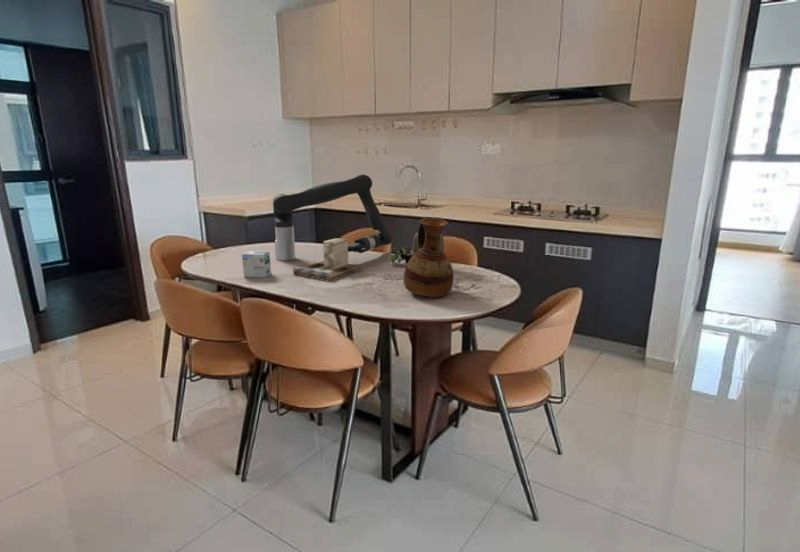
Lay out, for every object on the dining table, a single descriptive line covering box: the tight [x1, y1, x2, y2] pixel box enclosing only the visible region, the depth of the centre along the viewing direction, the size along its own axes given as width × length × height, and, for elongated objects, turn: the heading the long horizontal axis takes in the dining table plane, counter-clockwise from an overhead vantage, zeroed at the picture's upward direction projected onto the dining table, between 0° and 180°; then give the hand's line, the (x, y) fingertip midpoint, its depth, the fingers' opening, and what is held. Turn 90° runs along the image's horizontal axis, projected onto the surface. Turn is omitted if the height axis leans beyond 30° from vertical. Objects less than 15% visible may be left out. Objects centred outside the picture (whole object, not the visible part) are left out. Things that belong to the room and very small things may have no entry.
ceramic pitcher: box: [403, 217, 454, 297], centre depth 182 cm, size 20×20×30 cm
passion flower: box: [386, 245, 413, 267], centre depth 229 cm, size 11×11×12 cm
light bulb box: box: [241, 250, 272, 278], centre depth 211 cm, size 11×7×11 cm, turn 84°
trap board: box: [292, 260, 363, 282], centre depth 217 cm, size 22×23×4 cm
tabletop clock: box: [411, 216, 445, 255], centre depth 217 cm, size 14×9×25 cm, turn 83°
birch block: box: [322, 237, 349, 268], centre depth 220 cm, size 6×10×12 cm, turn 148°
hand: (343, 250), depth 225 cm, fingers closed
